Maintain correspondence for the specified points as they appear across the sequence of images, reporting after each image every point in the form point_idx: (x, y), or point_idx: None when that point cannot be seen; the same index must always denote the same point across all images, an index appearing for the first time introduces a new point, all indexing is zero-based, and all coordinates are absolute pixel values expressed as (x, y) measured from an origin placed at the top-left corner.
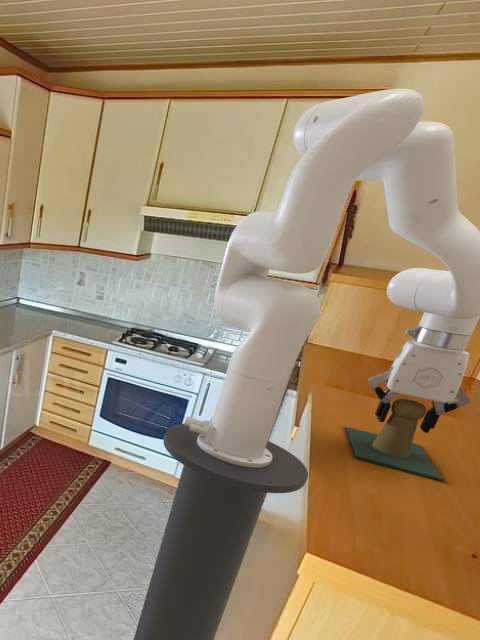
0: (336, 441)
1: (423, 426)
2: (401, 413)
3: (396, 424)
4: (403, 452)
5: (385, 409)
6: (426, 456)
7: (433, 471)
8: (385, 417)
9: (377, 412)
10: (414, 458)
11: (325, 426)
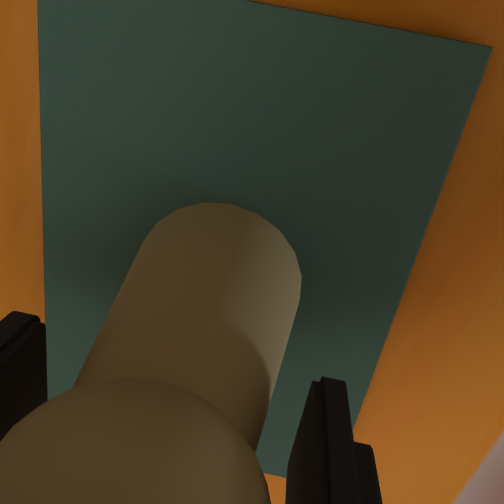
0: (482, 287)
1: (30, 379)
2: (218, 426)
3: (233, 349)
4: (177, 221)
5: (352, 481)
6: (49, 296)
7: (64, 72)
8: (317, 409)
9: (373, 467)
10: (118, 230)
11: (435, 466)
